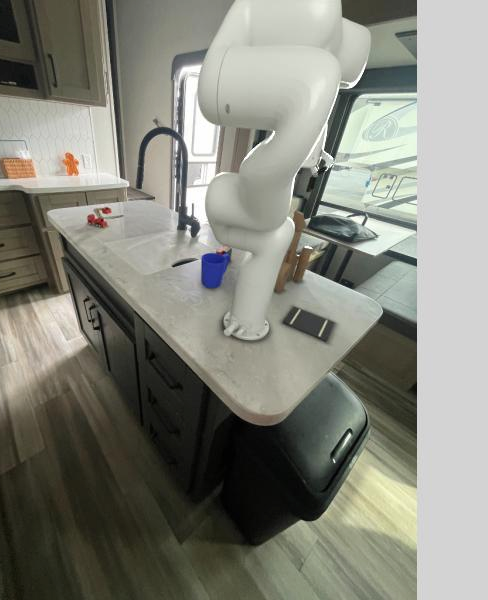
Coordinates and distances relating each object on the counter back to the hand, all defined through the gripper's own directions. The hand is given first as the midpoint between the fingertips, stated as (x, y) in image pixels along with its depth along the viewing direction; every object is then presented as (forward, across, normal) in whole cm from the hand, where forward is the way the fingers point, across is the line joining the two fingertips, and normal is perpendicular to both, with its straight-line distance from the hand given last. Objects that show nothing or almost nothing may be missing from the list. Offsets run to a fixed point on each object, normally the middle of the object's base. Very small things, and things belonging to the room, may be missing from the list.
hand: (292, 188), depth 77 cm
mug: (+32, -14, -13) cm, 38 cm away
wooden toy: (+32, +4, +4) cm, 33 cm away
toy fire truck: (+33, -85, -7) cm, 92 cm away
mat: (+32, +19, -13) cm, 39 cm away
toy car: (+30, -21, +3) cm, 36 cm away
